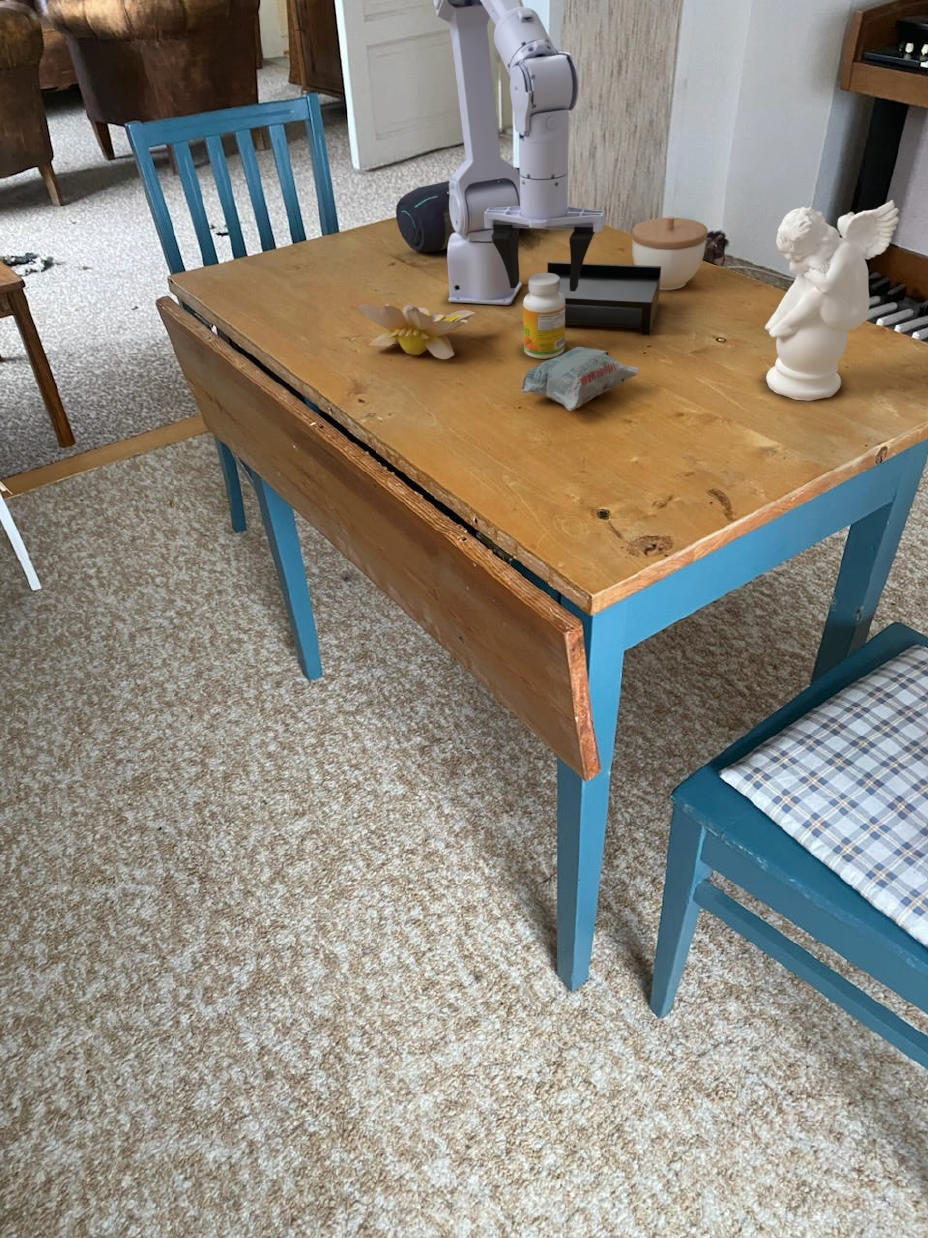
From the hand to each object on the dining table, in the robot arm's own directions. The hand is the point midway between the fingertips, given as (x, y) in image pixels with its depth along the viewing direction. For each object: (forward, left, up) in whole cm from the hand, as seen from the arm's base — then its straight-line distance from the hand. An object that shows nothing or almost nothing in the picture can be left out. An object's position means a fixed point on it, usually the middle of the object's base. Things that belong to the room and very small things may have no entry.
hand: (544, 286), depth 121 cm
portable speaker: (-21, +41, -9) cm, 47 cm away
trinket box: (+13, +26, -9) cm, 30 cm away
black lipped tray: (+5, +12, -9) cm, 16 cm away
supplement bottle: (0, 0, -9) cm, 9 cm away
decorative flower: (-16, -2, -9) cm, 18 cm away
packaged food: (+7, -12, -9) cm, 16 cm away
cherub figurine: (+34, -3, -9) cm, 35 cm away
